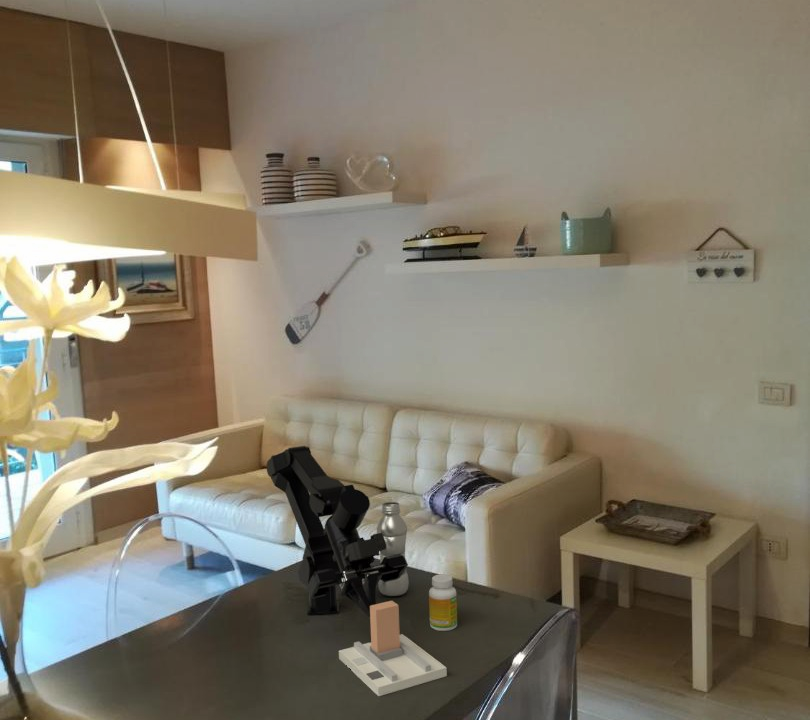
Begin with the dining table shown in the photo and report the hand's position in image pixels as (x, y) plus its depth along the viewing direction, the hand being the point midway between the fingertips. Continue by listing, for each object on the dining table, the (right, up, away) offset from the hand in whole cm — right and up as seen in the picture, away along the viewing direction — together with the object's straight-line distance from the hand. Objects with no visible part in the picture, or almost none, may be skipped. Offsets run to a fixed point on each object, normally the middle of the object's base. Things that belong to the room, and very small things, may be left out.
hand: (373, 617), depth 148 cm
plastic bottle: (+3, -4, +29) cm, 29 cm away
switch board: (+3, -7, -5) cm, 9 cm away
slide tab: (+2, -5, -4) cm, 7 cm away
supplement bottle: (+13, -6, +11) cm, 18 cm away
